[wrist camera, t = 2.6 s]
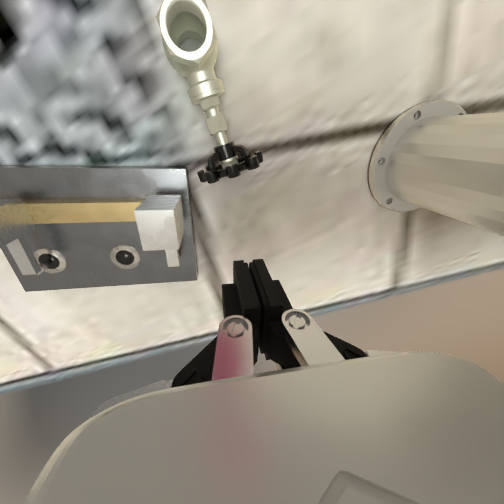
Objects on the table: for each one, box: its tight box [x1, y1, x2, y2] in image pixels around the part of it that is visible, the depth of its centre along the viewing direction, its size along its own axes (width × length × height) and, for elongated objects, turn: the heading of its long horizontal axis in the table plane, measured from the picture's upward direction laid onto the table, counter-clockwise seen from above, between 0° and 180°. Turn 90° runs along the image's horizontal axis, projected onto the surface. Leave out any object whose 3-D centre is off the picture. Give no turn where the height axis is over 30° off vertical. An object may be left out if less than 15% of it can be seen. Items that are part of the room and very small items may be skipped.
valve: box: [156, 0, 263, 184], centre depth 19 cm, size 7×7×12 cm
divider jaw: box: [134, 195, 185, 267], centre depth 22 cm, size 3×8×6 cm, turn 179°
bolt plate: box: [0, 165, 198, 292], centre depth 22 cm, size 20×14×9 cm
